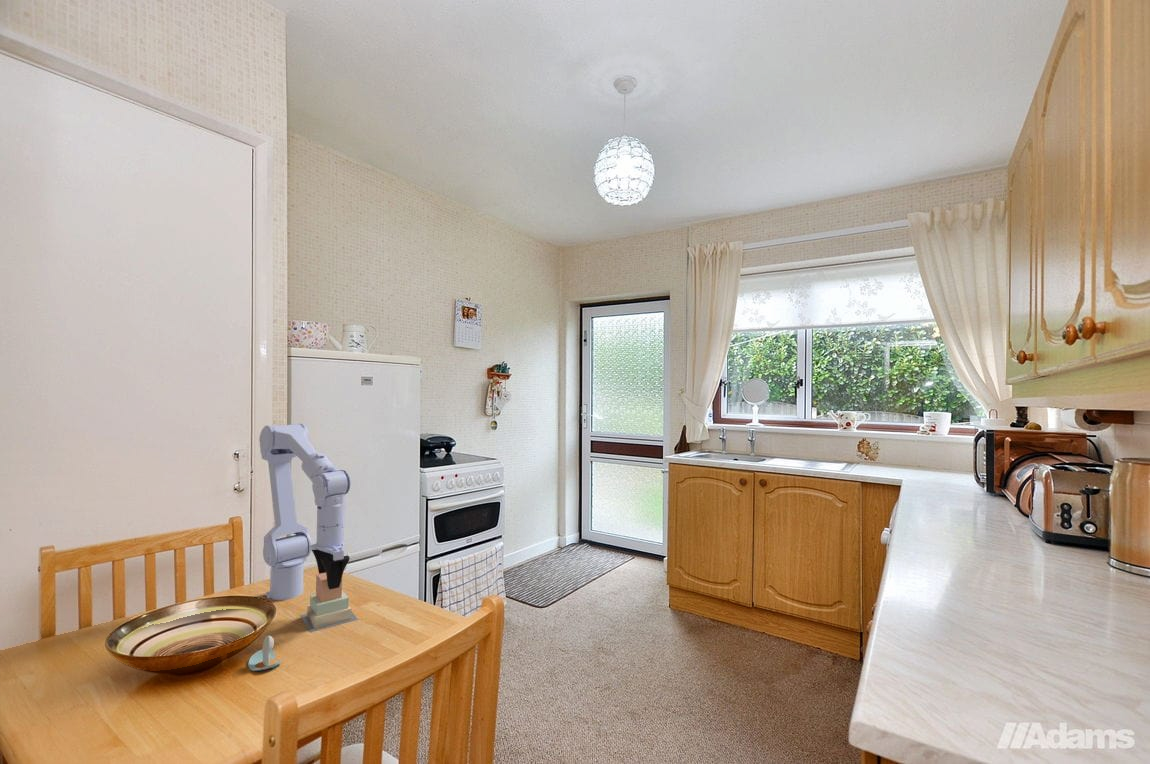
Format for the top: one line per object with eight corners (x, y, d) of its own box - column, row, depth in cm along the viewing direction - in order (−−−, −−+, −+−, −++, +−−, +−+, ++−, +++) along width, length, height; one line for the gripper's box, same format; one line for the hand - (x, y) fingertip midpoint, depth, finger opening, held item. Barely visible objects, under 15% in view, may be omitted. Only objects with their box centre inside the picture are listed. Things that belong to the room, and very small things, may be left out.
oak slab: (306, 615, 119) (307, 605, 119) (341, 607, 124) (341, 597, 124) (314, 628, 113) (315, 617, 113) (351, 618, 118) (351, 608, 118)
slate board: (299, 619, 119) (300, 615, 119) (345, 608, 125) (345, 604, 125) (310, 636, 111) (310, 632, 111) (358, 623, 117) (358, 619, 117)
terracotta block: (315, 596, 118) (316, 574, 118) (336, 591, 121) (336, 570, 121) (320, 602, 115) (321, 580, 115) (341, 597, 118) (342, 575, 118)
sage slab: (310, 605, 119) (310, 595, 119) (340, 598, 123) (340, 588, 123) (317, 616, 114) (317, 605, 114) (348, 608, 118) (348, 597, 118)
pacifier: (247, 686, 94) (283, 672, 98) (246, 652, 93) (283, 640, 98) (237, 669, 99) (272, 657, 103) (236, 637, 99) (271, 626, 103)
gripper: (304, 519, 121) (303, 576, 121) (319, 534, 110) (318, 597, 110) (336, 515, 126) (335, 570, 126) (354, 529, 114) (352, 589, 115)
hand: (329, 582), depth 118 cm, fingers open, 7 cm apart
